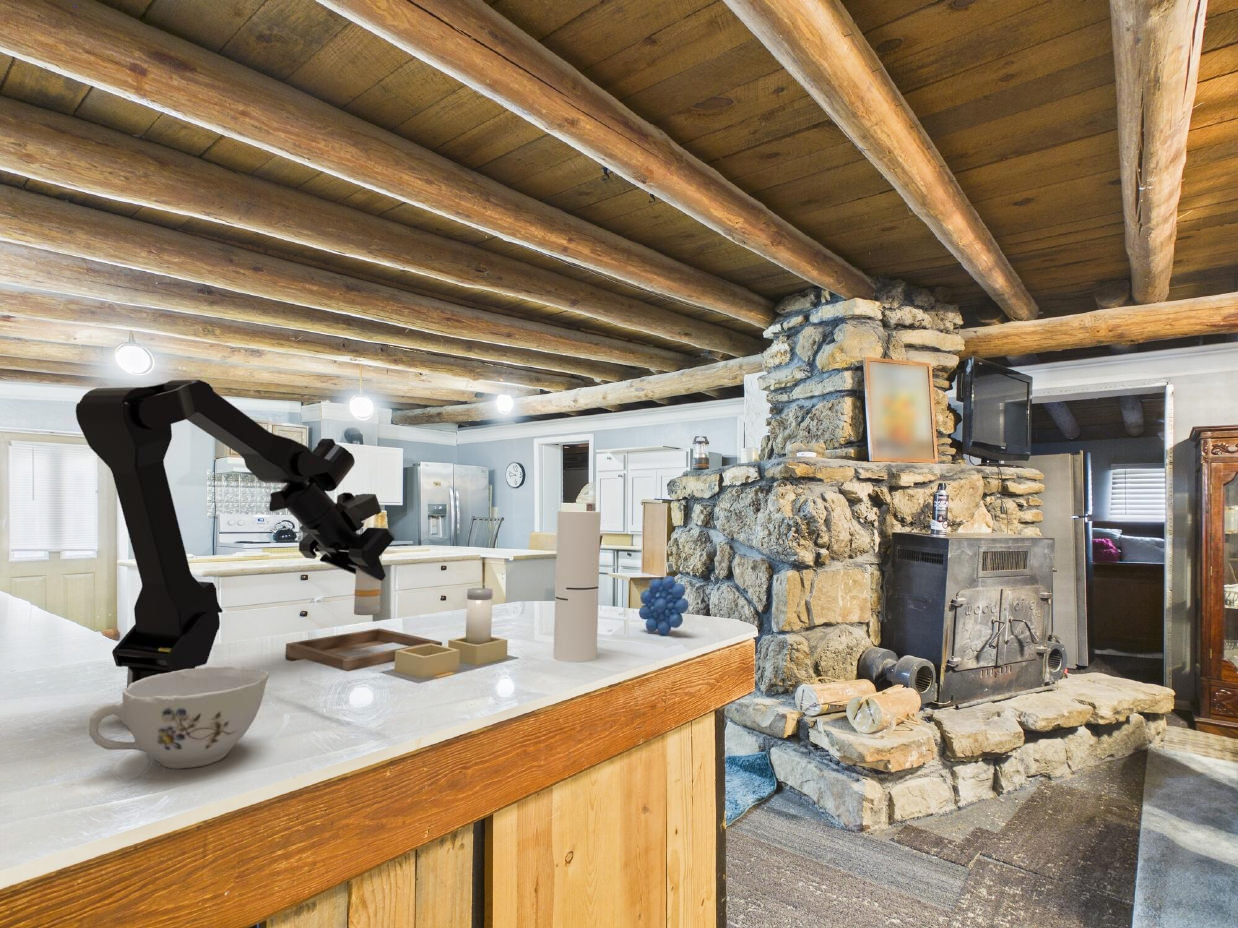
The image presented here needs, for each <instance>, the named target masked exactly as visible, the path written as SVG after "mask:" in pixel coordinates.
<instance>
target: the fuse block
mask: <svg viewBox="0 0 1238 928" xmlns="http://www.w3.org/2000/svg"><path fill="white" fill-rule="evenodd" d="M447 642H448V646H443V645H442V646H440V645H435V644H427V645H421V646H416V647H411V648H406V649H401V650H396V651H395V661H394V667H393V668H391V669H388V670H383V671H379V673H381V674H384V675H387V676H389V677H390V676H391V677H395V678H398V679H402V680H405V681H408V682H413V683H416V684H422V683H426V682H430V681H434V680H438V679H442V678H447V677H450V676H453V675H458V674H462V673H465V672H469V671H470V672H471V671H473V670H478V669H482V668H486V667H490V666H493V665H499V664H502V663H506V662H509V661H513V660H518V659H520V657H518V656H514V655H510V654H509V655H508V639H505V638H502V637H495V636H492V635H491V642H489V643H485V644H480V645H474V644H470V643H465V642H466V636H464V637H459V638H458V637H457V638H453V639H452V638H451V639H448V641H447Z"/></svg>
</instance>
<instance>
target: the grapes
mask: <svg viewBox="0 0 1238 928" xmlns="http://www.w3.org/2000/svg"><path fill="white" fill-rule="evenodd" d="M648 588H649V589H645V590H643V591H642V593H640V602H641V603H642V604H643V605H642V606H641V607H640V608H639V610H638V615H639V617H640V619H641V620H646V622H645V629H646V630H647V631H649V632H655V631H657V632H658V634H659V635H663V636H665V635H668V634H669V633H670V631H671V630H672V628H674V629H677V628H680V626H681V625H682V624H683V621H684V619H683V618H684V617H683V615H682V614H684V613H686V611H688V609H689V601H688V600H687V599H686V598H683V597H684V596H685V595H686V585H684V584H683V583H679V582H678V583H676V580H675V578H674V577H673V576H671V575H666V576H665V577H663V579H662V580H661V578H652V580H650V582H649V585H648Z"/></svg>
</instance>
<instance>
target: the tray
mask: <svg viewBox="0 0 1238 928" xmlns="http://www.w3.org/2000/svg"><path fill="white" fill-rule="evenodd" d="M393 643H394V644H398V645H402V646H405V647H400V648H396V649H391V650H385V651H379V652H373V653H369V654H365V655H363V654H362V655H359V656H354V657H347V656H345V655H342V654H339V653H343V652H344V653H345V652H349V651H354V650H359V649H360V650H361V649H367V648H370V647H371V648H372V647H376V646H381V645H387V644H393ZM427 644H435V645H440V646H443V641H439V640H434V639H429V638H426V637H420V636H417V635H416V636H415V635H412V634H409V633H408V634H406V633H403V632H397V631H393V630H388V629H383V628H374V629H368V630H367V629H366V630H363V631H362V630H360V631H354V632H350V633H342V634H336V635H329V636H324V637H318V638H317V637H316V638H311V639H307V640H305V639H304V640H299V641H294V642H293V641H292V642H288V643H286V644H285V655H284V656H285V660H287V661H291V662H295V661H300V660H308V661H311V662H313V663H318V664H320V665H325V666H328V667H331V668H334V669H339V670H341V671H345V672H351V671H357V670H361V669H364V668H370V667H374V666H379V665H384V664H390V663H395V651H396V650H401V649H406V648H411V647H416V646H421V645H427Z"/></svg>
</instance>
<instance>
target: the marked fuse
mask: <svg viewBox="0 0 1238 928" xmlns="http://www.w3.org/2000/svg"><path fill="white" fill-rule="evenodd" d="M379 558H380V561H381V564H382V565H383V553H382V554H381V555H380V556H379ZM354 581H355V582H354V583H355V585H354V600H353V601H354V604H353V605H354V606H353V615H355V616H372V615H373V616H374V615H378V614H380V612H381V595H382V594H381V593H382V587H381V586H382V581H380V580H378V579H376V578H373V577H371V576H369V575H367V574H365V573H363V572H361V571H359V570H357V569H356V575H355V579H354Z"/></svg>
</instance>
